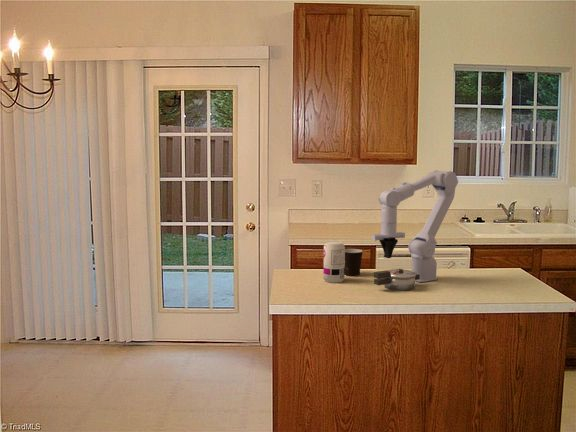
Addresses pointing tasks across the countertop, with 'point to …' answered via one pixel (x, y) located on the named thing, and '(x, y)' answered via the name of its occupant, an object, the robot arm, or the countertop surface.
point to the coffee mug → (353, 262)
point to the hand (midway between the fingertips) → (388, 257)
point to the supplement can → (334, 262)
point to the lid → (394, 274)
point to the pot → (398, 283)
